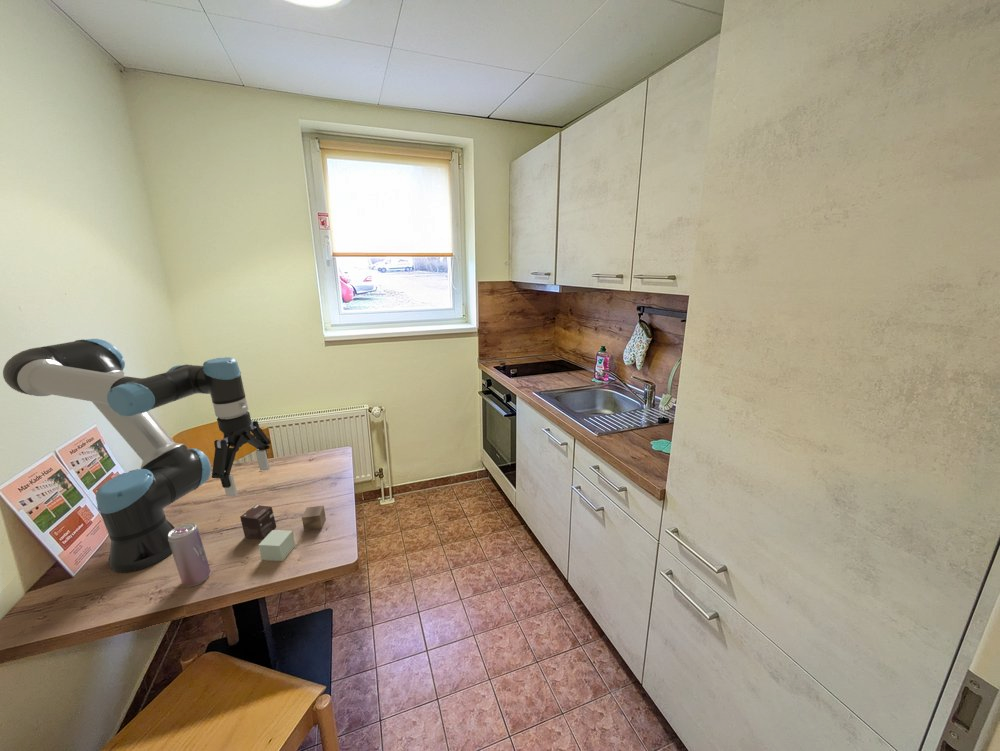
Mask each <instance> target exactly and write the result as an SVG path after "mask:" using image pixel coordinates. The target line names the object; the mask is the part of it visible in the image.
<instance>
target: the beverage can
mask: <svg viewBox="0 0 1000 751" xmlns="http://www.w3.org/2000/svg"><path fill="white" fill-rule="evenodd" d="M168 542H169V545H170V548H171V551H172V553H171V554H172V556H173V560H174V563H175V566H176V568H177V572H178V574H179V578H180V581H181V585H183V586H184V587H188V588H189V587H190V588H191V587H195V586H198V585H201V584H202V583H204V582H206V580H208V578H209V576H210V574H211V568H210V564H209V560H208V557H207V553H206V550H205V546H204V544H203V540H202V537H201V533H200V530H199V528H198V526H197V524H196V523H194V522H188V523H184V524H180V525H177V526H176V527H175V528H174V529H173V530H171V531H170V532H169V533H168Z"/></svg>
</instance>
